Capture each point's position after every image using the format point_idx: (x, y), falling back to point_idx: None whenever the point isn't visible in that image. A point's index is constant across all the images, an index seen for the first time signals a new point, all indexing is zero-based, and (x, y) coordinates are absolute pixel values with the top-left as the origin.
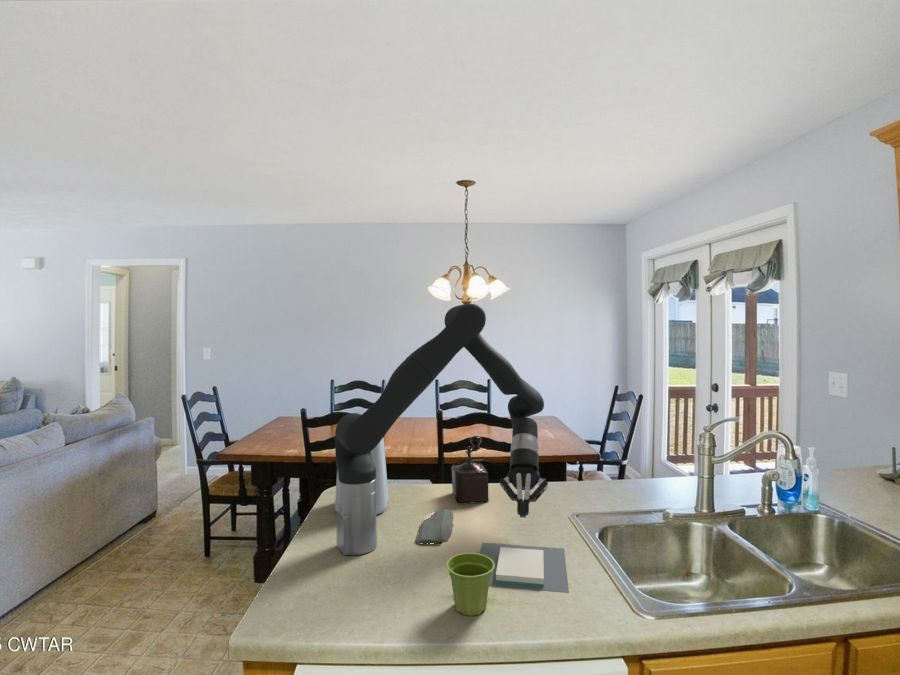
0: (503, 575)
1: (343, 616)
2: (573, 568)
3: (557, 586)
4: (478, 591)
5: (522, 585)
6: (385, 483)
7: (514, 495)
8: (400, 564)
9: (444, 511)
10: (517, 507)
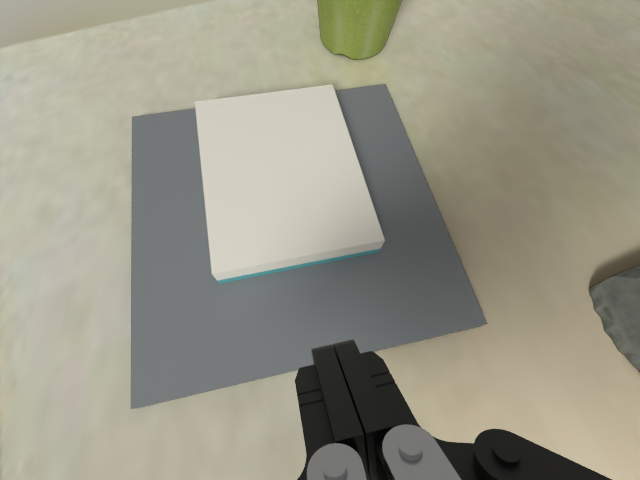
0: (311, 88)
1: None
2: (109, 275)
3: (163, 133)
4: None
5: None
6: None
7: (478, 447)
8: (610, 128)
9: None
10: (391, 378)
